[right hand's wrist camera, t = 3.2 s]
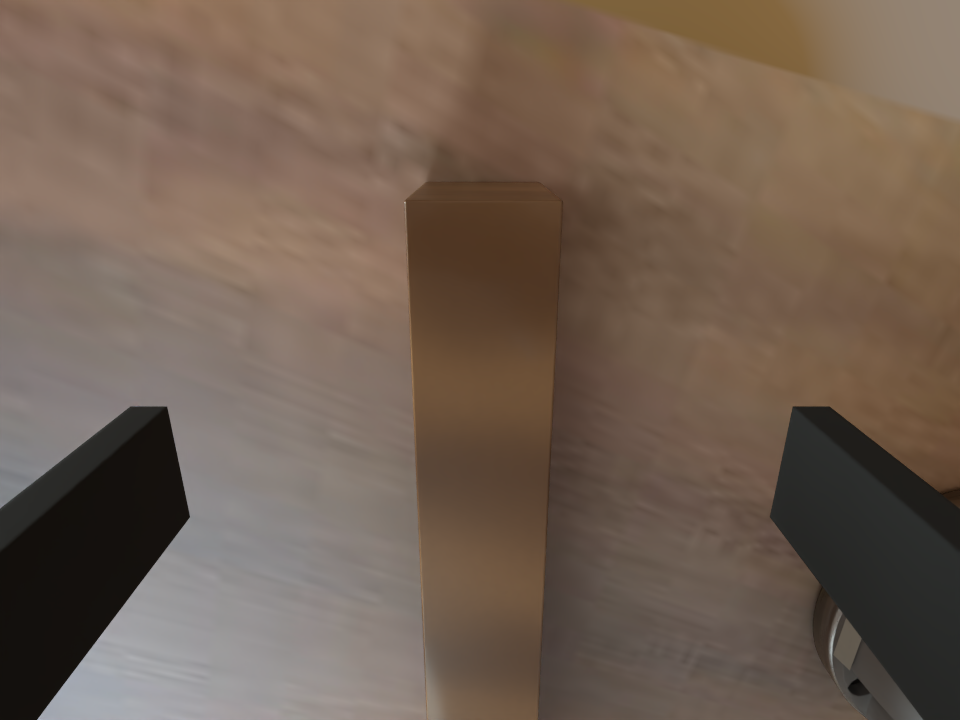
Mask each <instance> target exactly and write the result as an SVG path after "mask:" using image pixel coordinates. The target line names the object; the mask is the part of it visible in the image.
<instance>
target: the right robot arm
mask: <svg viewBox="0 0 960 720" xmlns="http://www.w3.org/2000/svg"><path fill="white" fill-rule="evenodd" d="M189 518H190V515H189V510H188V505H187V500H186V495H185V491H184V486H183V481H182V476H181V471H180V467H179V462H178V457H177V452H176V447H175V442H174V438H173V433H172V428H171V423H170V418H169V414H168V409H167V407H129V408H128V409H127V410H126V411H124V412H123V413H122V414H120V415H119V416H118V417H117V418H115V419H114V420H113V421H112V422H110V423H109V424H108V425H106V426H105V427H104V428H103V429H101V430H100V431H99V432H97V433H96V434H95V435H94V436H92V437H91V438H90V439H89V440H87V441H86V442H85V443H83V444H82V445H81V446H80V447H78V448H77V449H76V450H74V451H73V452H72V453H71V454H69V455H68V456H67V457H66V458H64V459H63V460H62V461H60V462H59V463H58V464H57V465H55V466H54V467H53V468H52V469H50V470H49V471H48V472H46V473H45V474H44V475H43V476H41V477H40V478H39V479H37V480H36V481H35V482H34V483H32V484H31V485H30V486H29V487H27V488H26V489H25V490H23V491H22V492H21V493H20V494H18V495H17V496H16V497H14V498H13V499H12V500H11V501H9V502H8V503H7V504H6V505H4V506H3V507H2V508H0V720H37V719H38V718H39V716H40V715H41V714H42V712H43V711H44V710H45V708H46V707H47V706H48V704H49V703H50V702H51V700H52V699H53V698H54V696H55V695H56V694H57V692H58V691H59V690H60V688H61V687H62V686H63V684H64V683H65V682H66V681H67V679H68V678H69V677H70V675H71V674H72V673H73V671H74V670H75V669H76V667H77V666H78V665H79V663H80V662H81V661H82V659H83V658H84V657H85V655H86V654H87V653H88V651H89V650H90V649H91V647H92V646H93V645H94V643H95V642H96V641H97V639H98V638H99V637H100V635H101V634H102V633H103V632H104V630H105V629H106V628H107V626H108V625H109V624H110V622H111V621H112V620H113V618H114V617H115V616H116V614H117V613H118V612H119V610H120V609H121V608H122V606H123V605H124V604H125V602H126V601H127V600H128V598H129V597H130V596H131V594H132V593H133V592H134V590H135V589H136V588H137V587H138V585H139V584H140V583H141V581H142V580H143V579H144V577H145V576H146V575H147V573H148V572H149V571H150V569H151V568H152V567H153V565H154V564H155V563H156V561H157V560H158V559H159V557H160V556H161V555H162V553H163V552H164V551H165V549H166V548H167V547H168V545H169V544H170V543H171V541H172V540H173V539H174V538H175V536H176V535H177V534H178V532H179V531H180V530H181V528H182V527H183V526H184V524H185V523H186V522H187V520H188V519H189ZM770 518H771V519H772V520H773V522H774V523H775V524H776V526H777V527H778V528H779V530H780V531H781V532H782V534H783V535H784V536H785V538H786V539H787V540H788V541H789V543H790V544H791V545H792V547H793V548H794V549H795V551H796V552H797V553H798V555H799V556H800V557H801V559H802V560H803V561H804V563H805V564H806V565H807V567H808V568H809V569H810V571H811V572H812V573H813V575H814V576H815V577H816V579H817V580H818V581H819V583H820V584H821V585H822V587H823V588H822V590H821V592H820V595H819V597H818V600H817V603H816V608H815V612H814V620H813V636H814V642H815V646H816V649H817V652H818V655H819V657H820V659H821V661H822V663H823V665H824V666H825V668H826V669H827V671H828V673H829V674H830V676H831V677H832V679H833V680H834V682H835V683H836V685H837V687H838V688H839V690H840V691H841V693H842V694H843V696H844V697H845V699H846V700H847V701H848V702H849V703H850V704H851V705H852V706H853V707H854V708H855V709H856V710H857V711H858V712H859V713H861V714H862V715H863V716H864V717H866V718H867V719H868V720H960V490H957V491H953V492H949V493H945V494H940V493H939V492H938V491H937V490H935V489H934V488H933V487H931V486H930V485H929V484H928V483H926V482H925V481H924V480H923V479H921V478H920V477H919V476H917V475H916V474H915V473H914V472H912V471H911V470H910V469H908V468H907V467H906V466H905V465H903V464H902V463H901V462H900V461H898V460H897V459H896V458H894V457H893V456H892V455H891V454H889V453H888V452H887V451H885V450H884V449H883V448H882V447H880V446H879V445H878V444H877V443H875V442H874V441H873V440H871V439H870V438H869V437H868V436H866V435H865V434H864V433H863V432H861V431H860V430H859V429H857V428H856V427H855V426H854V425H852V424H851V423H850V422H848V421H847V420H846V419H845V418H843V417H842V416H841V415H840V414H838V413H837V412H836V411H834V410H833V409H832V408H831V407H793V409H792V414H791V418H790V423H789V428H788V433H787V438H786V442H785V447H784V452H783V457H782V462H781V467H780V471H779V476H778V481H777V486H776V491H775V495H774V500H773V505H772V510H771V515H770Z"/></svg>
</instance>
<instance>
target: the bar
mask: <svg viewBox="0 0 960 720" xmlns="http://www.w3.org/2000/svg"><path fill="white" fill-rule="evenodd" d="M404 210H405V232H406V255H407V278H408V301H409V323H410V346H411V369H412V392H413V415H414V437H415V460H416V483H417V506H418V528H419V551H420V574H421V597H422V619H423V642H424V665H425V688H426V710H427V720H538V710H539V689H540V668H541V647H542V626H543V606H544V585H545V564H546V543H547V523H548V502H549V481H550V460H551V439H552V419H553V398H554V377H555V356H556V336H557V315H558V294H559V273H560V252H561V232H562V211H563V201H562V200H561V199H560V198H558V197H557V196H556V195H555V194H553V193H552V192H551V191H550V190H548V189H547V188H546V187H545V186H543V185H542V184H541V183H539V182H426V183H424V184H423V185H422V186H421V187H420V188H419V189H418V190H416V191H415V192H414V193H413V194H412V195H411V196H410V197H408V198H407V199H406V200H405V202H404Z"/></svg>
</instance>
